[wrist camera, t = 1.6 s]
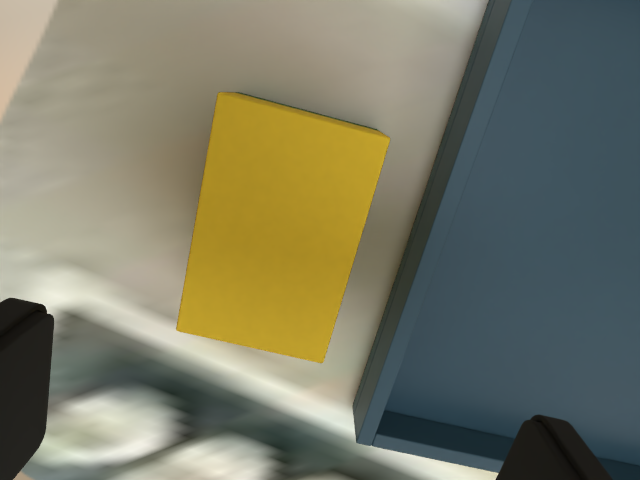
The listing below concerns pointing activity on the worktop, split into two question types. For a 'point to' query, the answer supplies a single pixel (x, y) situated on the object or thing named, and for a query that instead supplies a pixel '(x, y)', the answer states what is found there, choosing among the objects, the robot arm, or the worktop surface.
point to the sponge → (277, 225)
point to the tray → (523, 250)
